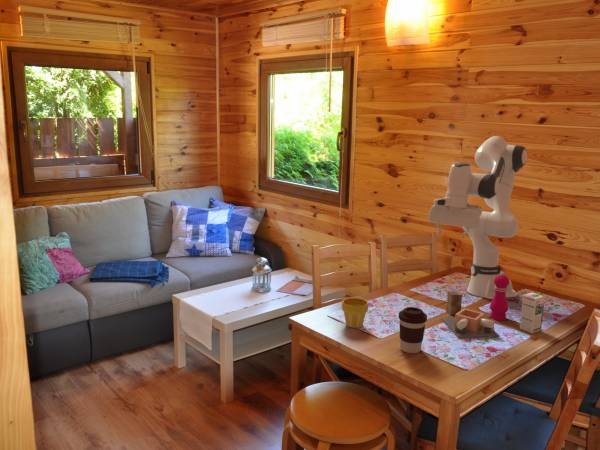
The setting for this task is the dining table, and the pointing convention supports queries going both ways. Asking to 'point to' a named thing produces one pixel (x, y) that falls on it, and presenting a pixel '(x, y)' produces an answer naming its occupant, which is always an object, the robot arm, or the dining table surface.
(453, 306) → the walnut coupler
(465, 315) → the grey base with box
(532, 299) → the syrup box
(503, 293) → the pepper mill
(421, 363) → the dining table surface
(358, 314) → the plant pot
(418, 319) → the coffee cup
